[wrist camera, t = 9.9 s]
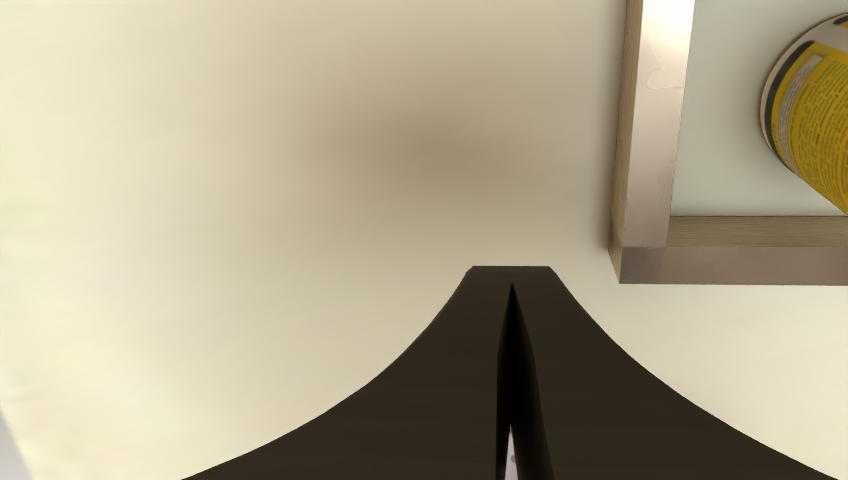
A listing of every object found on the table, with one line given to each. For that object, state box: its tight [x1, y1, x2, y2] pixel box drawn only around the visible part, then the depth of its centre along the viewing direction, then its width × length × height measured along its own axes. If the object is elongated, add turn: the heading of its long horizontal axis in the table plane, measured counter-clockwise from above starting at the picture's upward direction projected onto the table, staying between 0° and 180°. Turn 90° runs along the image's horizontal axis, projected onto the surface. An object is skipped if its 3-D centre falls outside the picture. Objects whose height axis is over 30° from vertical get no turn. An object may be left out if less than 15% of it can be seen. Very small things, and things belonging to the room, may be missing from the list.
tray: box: [608, 0, 848, 286], centre depth 18 cm, size 9×9×2 cm
